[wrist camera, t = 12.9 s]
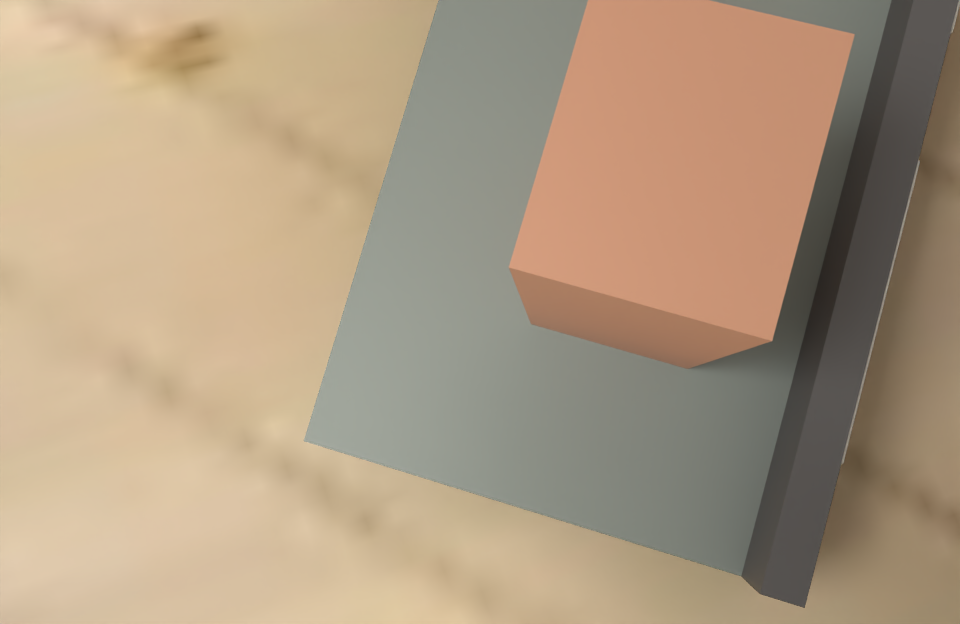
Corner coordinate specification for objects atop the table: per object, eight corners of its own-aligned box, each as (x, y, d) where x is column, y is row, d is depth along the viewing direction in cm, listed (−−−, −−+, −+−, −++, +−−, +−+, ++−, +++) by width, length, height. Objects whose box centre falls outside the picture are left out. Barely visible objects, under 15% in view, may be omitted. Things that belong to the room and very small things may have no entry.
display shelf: (329, 438, 31) (278, 443, 25) (539, -256, 33) (534, -389, 27) (768, 573, 29) (815, 611, 23) (960, -174, 31) (1046, -299, 25)
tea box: (530, 324, 27) (509, 267, 16) (583, 144, 28) (595, -27, 17) (693, 370, 27) (783, 343, 16) (745, 186, 27) (865, 36, 16)
